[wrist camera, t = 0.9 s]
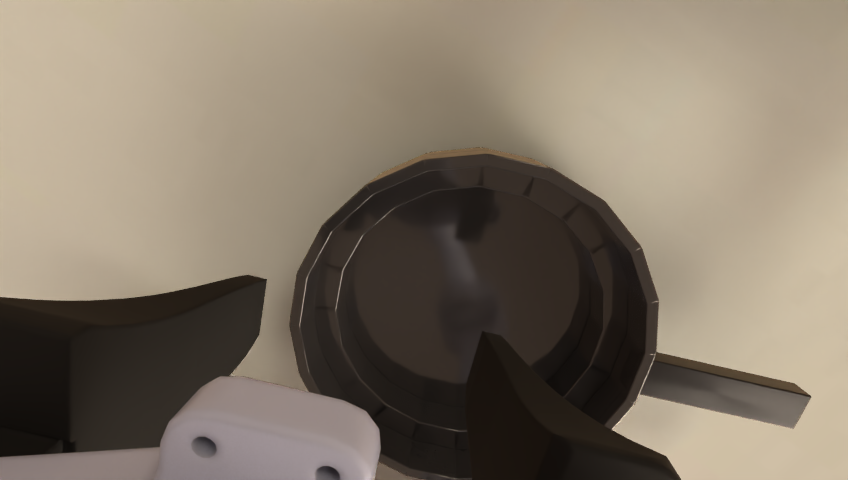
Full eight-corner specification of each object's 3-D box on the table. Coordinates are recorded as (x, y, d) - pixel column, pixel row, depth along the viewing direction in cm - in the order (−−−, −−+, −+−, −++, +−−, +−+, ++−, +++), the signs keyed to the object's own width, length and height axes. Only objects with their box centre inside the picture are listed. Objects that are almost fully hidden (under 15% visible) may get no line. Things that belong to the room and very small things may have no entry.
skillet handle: (777, 415, 20) (794, 429, 19) (618, 378, 20) (626, 391, 19) (795, 383, 20) (812, 396, 19) (631, 346, 20) (640, 357, 19)
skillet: (564, 449, 26) (588, 517, 21) (301, 390, 25) (271, 445, 21) (664, 188, 21) (719, 206, 17) (346, 115, 21) (319, 114, 17)
